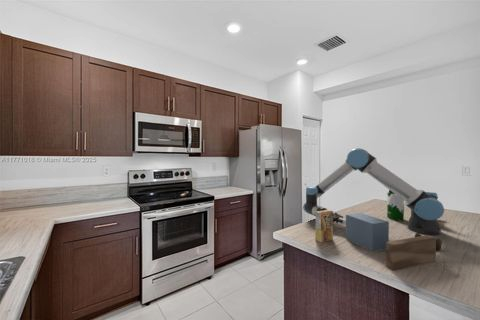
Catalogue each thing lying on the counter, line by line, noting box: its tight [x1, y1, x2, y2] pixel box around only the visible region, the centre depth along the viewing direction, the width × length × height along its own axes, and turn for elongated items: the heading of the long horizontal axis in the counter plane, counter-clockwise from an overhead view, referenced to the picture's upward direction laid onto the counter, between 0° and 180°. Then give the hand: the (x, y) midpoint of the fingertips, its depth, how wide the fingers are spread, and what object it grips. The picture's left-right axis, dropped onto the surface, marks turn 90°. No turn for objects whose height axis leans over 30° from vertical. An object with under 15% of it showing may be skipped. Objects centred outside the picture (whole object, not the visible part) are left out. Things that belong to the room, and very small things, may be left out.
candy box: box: [314, 209, 334, 243], centre depth 110 cm, size 9×4×15 cm, turn 116°
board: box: [385, 234, 437, 271], centre depth 86 cm, size 3×24×10 cm, turn 107°
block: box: [345, 212, 390, 252], centre depth 106 cm, size 16×10×13 cm, turn 17°
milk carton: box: [386, 189, 405, 221], centre depth 147 cm, size 9×9×20 cm
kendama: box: [414, 232, 443, 252], centre depth 100 cm, size 6×10×20 cm
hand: (348, 223), depth 117 cm, fingers closed
